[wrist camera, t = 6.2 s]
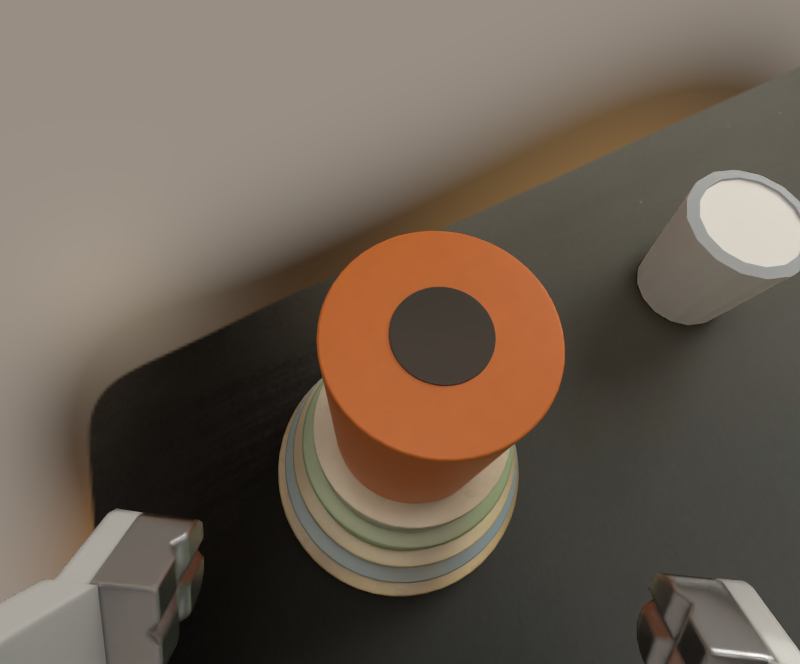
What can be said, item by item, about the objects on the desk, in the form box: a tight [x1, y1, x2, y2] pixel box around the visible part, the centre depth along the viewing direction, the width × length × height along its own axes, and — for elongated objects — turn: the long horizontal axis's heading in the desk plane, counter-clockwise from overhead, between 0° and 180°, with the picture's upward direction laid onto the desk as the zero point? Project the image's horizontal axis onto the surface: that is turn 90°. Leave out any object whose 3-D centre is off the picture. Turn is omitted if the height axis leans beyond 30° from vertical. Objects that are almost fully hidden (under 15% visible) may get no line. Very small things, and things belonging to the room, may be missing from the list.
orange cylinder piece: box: [316, 231, 565, 504], centre depth 16 cm, size 6×6×8 cm
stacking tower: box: [278, 378, 519, 596], centre depth 24 cm, size 12×12×10 cm
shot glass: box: [637, 170, 800, 325], centre depth 31 cm, size 7×7×7 cm
